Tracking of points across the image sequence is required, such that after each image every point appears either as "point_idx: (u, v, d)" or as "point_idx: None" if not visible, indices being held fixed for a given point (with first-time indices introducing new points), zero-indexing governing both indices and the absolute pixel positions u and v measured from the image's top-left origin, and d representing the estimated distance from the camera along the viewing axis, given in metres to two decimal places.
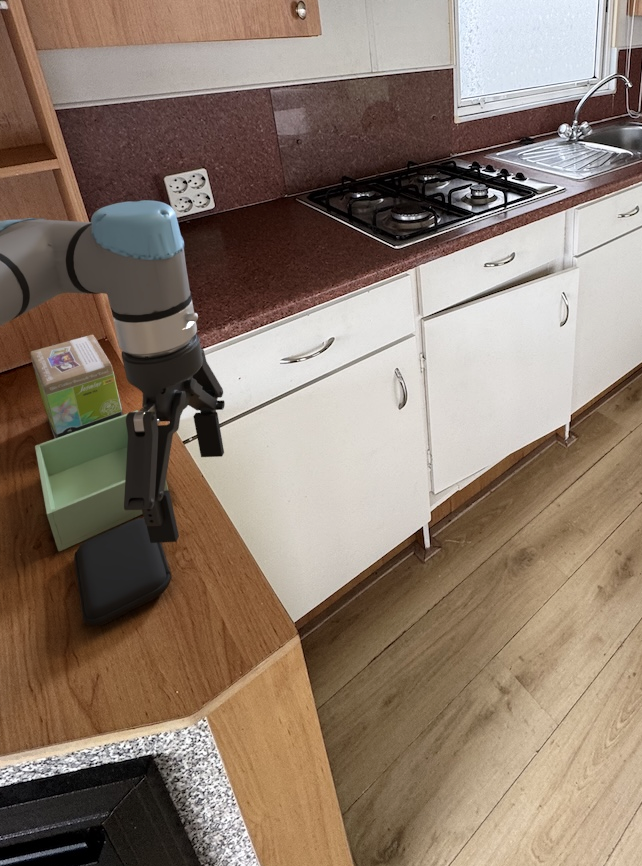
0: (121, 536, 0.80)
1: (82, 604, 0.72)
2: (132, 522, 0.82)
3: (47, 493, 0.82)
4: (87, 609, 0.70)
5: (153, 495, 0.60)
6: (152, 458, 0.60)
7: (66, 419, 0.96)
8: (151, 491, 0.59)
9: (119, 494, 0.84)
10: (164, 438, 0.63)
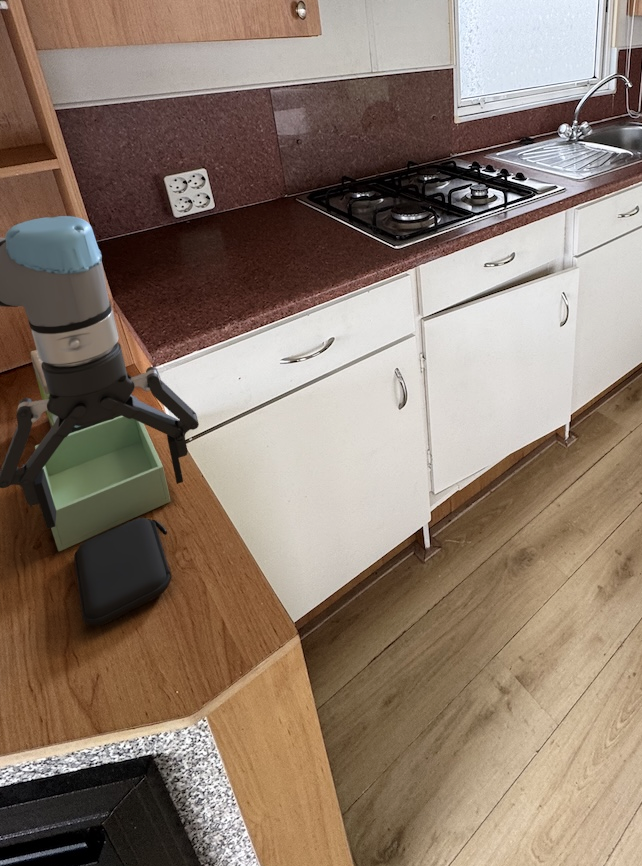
0: (121, 536, 0.80)
1: (82, 604, 0.72)
2: (132, 522, 0.82)
3: None
4: (87, 609, 0.70)
5: (8, 478, 0.65)
6: (14, 447, 0.64)
7: None
8: (5, 474, 0.64)
9: (119, 494, 0.84)
10: (50, 437, 0.66)
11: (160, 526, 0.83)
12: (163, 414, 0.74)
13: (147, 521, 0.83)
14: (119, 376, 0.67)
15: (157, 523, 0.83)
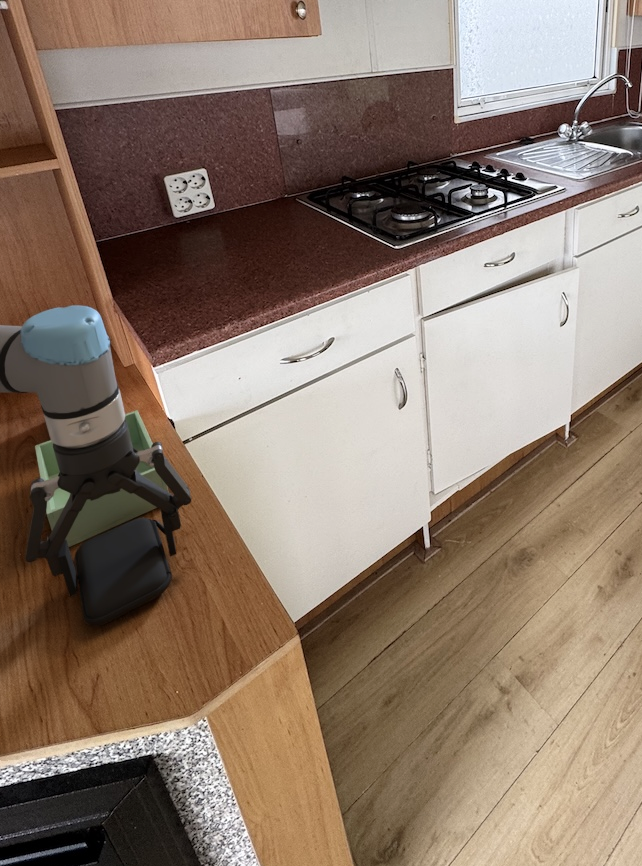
0: (121, 535, 0.80)
1: (83, 604, 0.72)
2: (132, 522, 0.82)
3: None
4: (88, 609, 0.70)
5: (34, 552, 0.69)
6: (34, 525, 0.69)
7: None
8: (30, 549, 0.69)
9: (119, 494, 0.84)
10: (66, 512, 0.70)
11: (160, 526, 0.83)
12: (160, 489, 0.78)
13: (147, 521, 0.83)
14: (126, 452, 0.71)
15: (157, 523, 0.84)
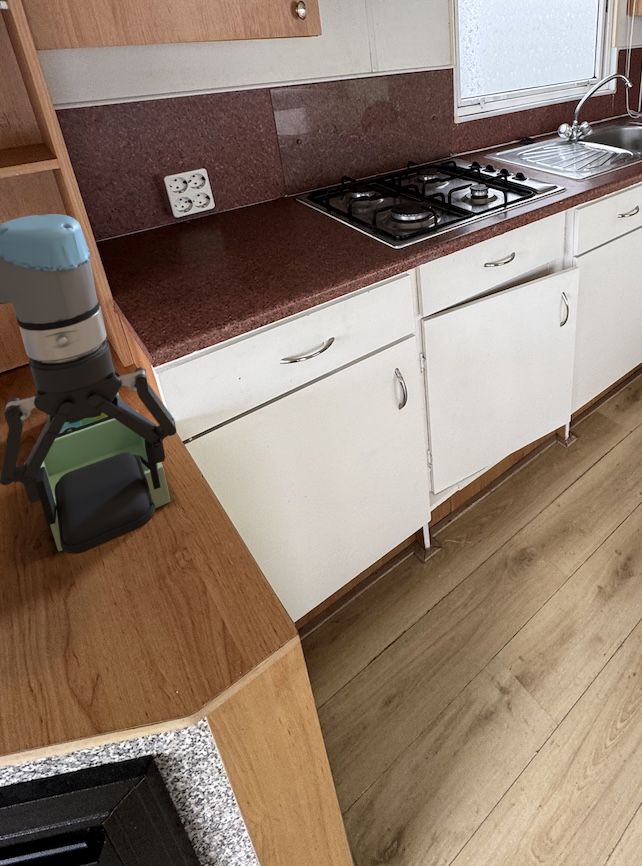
0: (104, 468, 0.77)
1: (61, 532, 0.68)
2: (116, 456, 0.79)
3: None
4: (65, 536, 0.67)
5: (9, 475, 0.66)
6: (9, 446, 0.65)
7: None
8: (5, 472, 0.66)
9: None
10: (43, 434, 0.67)
11: (145, 461, 0.80)
12: (144, 418, 0.74)
13: (132, 455, 0.80)
14: (106, 373, 0.68)
15: (142, 458, 0.80)
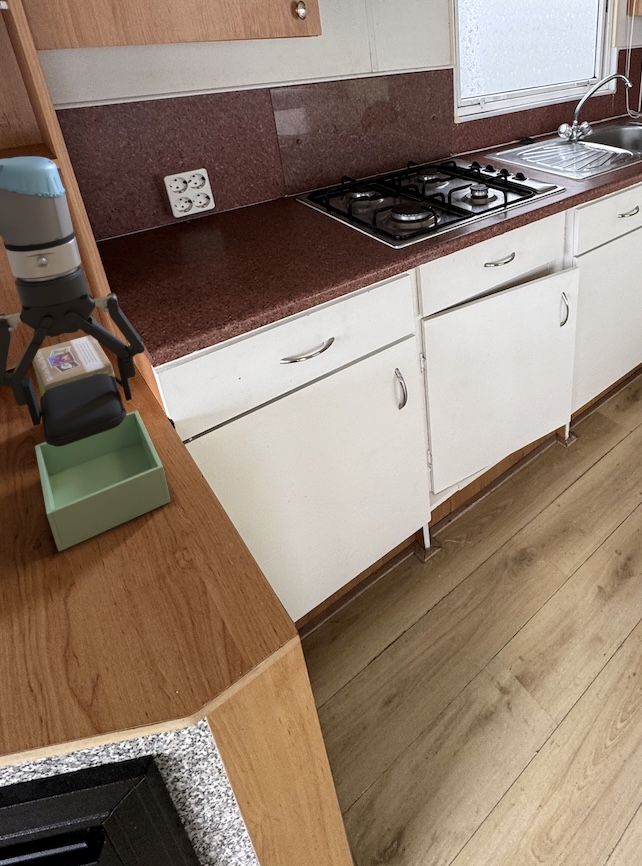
0: (82, 384, 0.89)
1: (44, 429, 0.80)
2: (93, 375, 0.91)
3: (47, 493, 0.82)
4: (48, 431, 0.79)
5: (0, 379, 0.78)
6: None
7: None
8: None
9: (119, 494, 0.84)
10: (28, 345, 0.79)
11: (119, 380, 0.92)
12: (116, 338, 0.86)
13: (107, 375, 0.92)
14: (81, 293, 0.80)
15: (117, 378, 0.92)
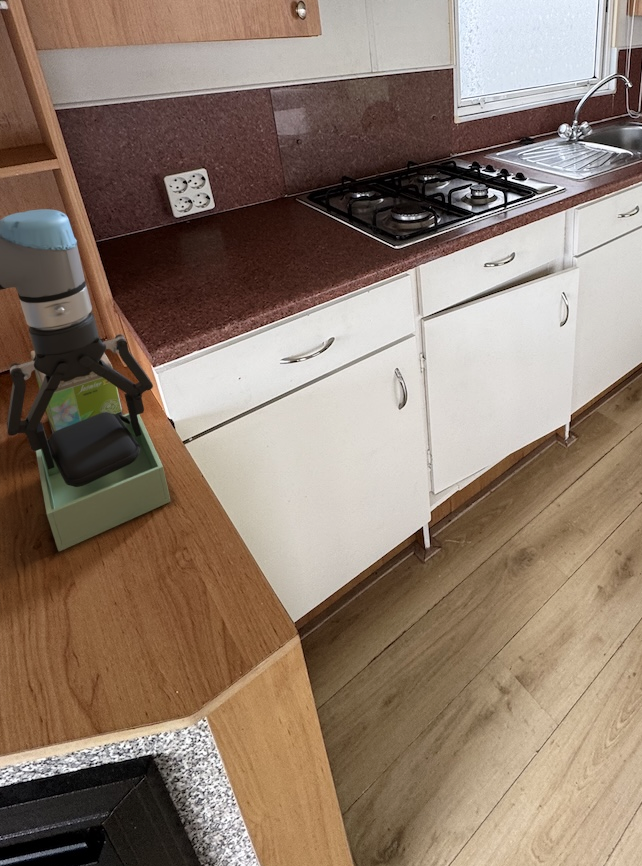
0: (89, 424, 0.91)
1: (62, 471, 0.83)
2: (97, 415, 0.93)
3: (47, 493, 0.82)
4: (68, 473, 0.82)
5: (15, 427, 0.80)
6: (15, 402, 0.79)
7: (66, 419, 0.97)
8: (12, 424, 0.80)
9: (119, 494, 0.84)
10: (43, 392, 0.81)
11: (123, 417, 0.95)
12: (124, 377, 0.90)
13: (111, 414, 0.94)
14: (94, 338, 0.83)
15: (120, 415, 0.95)
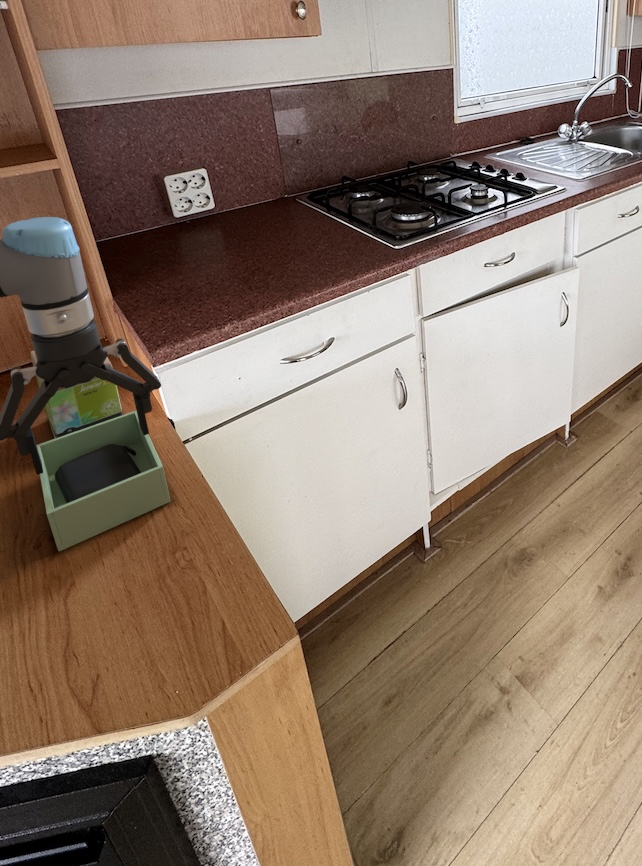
0: (96, 457, 0.93)
1: None
2: (104, 447, 0.95)
3: (47, 493, 0.82)
4: None
5: (5, 432, 0.80)
6: (10, 406, 0.79)
7: (66, 419, 0.97)
8: (2, 429, 0.79)
9: (119, 494, 0.84)
10: (39, 397, 0.81)
11: (130, 449, 0.97)
12: (130, 378, 0.90)
13: (117, 446, 0.96)
14: (96, 345, 0.83)
15: (126, 447, 0.97)
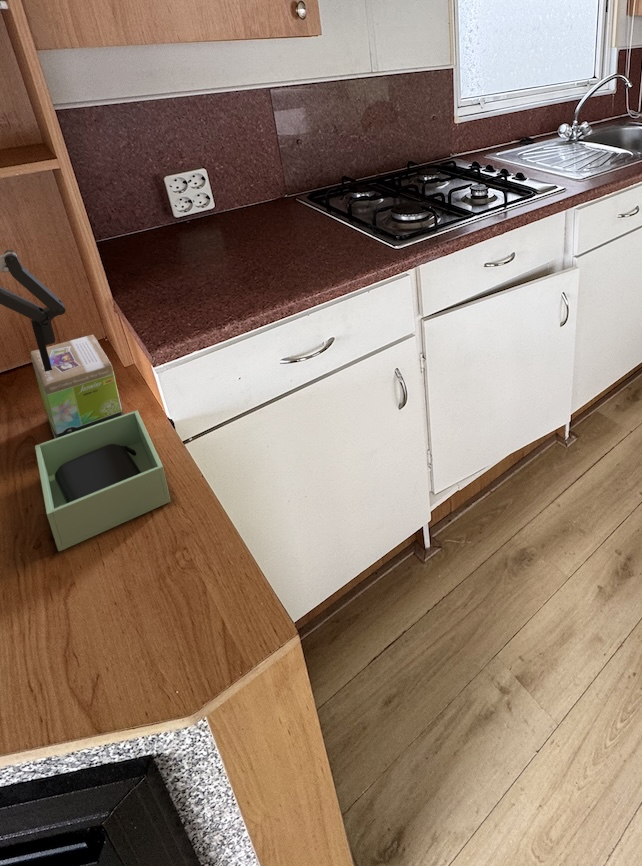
0: (96, 457, 0.93)
1: None
2: (104, 447, 0.95)
3: (47, 493, 0.82)
4: None
5: None
6: None
7: (66, 419, 0.97)
8: None
9: (119, 494, 0.84)
10: None
11: (130, 449, 0.97)
12: (26, 300, 0.74)
13: (117, 446, 0.96)
14: None
15: (126, 447, 0.97)
